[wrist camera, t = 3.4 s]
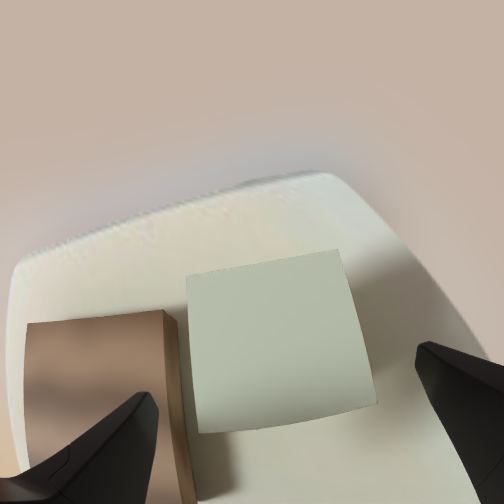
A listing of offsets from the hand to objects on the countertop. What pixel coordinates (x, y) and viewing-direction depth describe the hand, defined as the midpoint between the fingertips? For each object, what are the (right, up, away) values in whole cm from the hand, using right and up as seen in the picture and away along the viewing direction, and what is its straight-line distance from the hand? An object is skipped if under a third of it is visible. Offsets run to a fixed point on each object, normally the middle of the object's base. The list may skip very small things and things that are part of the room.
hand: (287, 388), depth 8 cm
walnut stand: (-12, -7, +8) cm, 16 cm away
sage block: (+1, -3, +8) cm, 9 cm away
